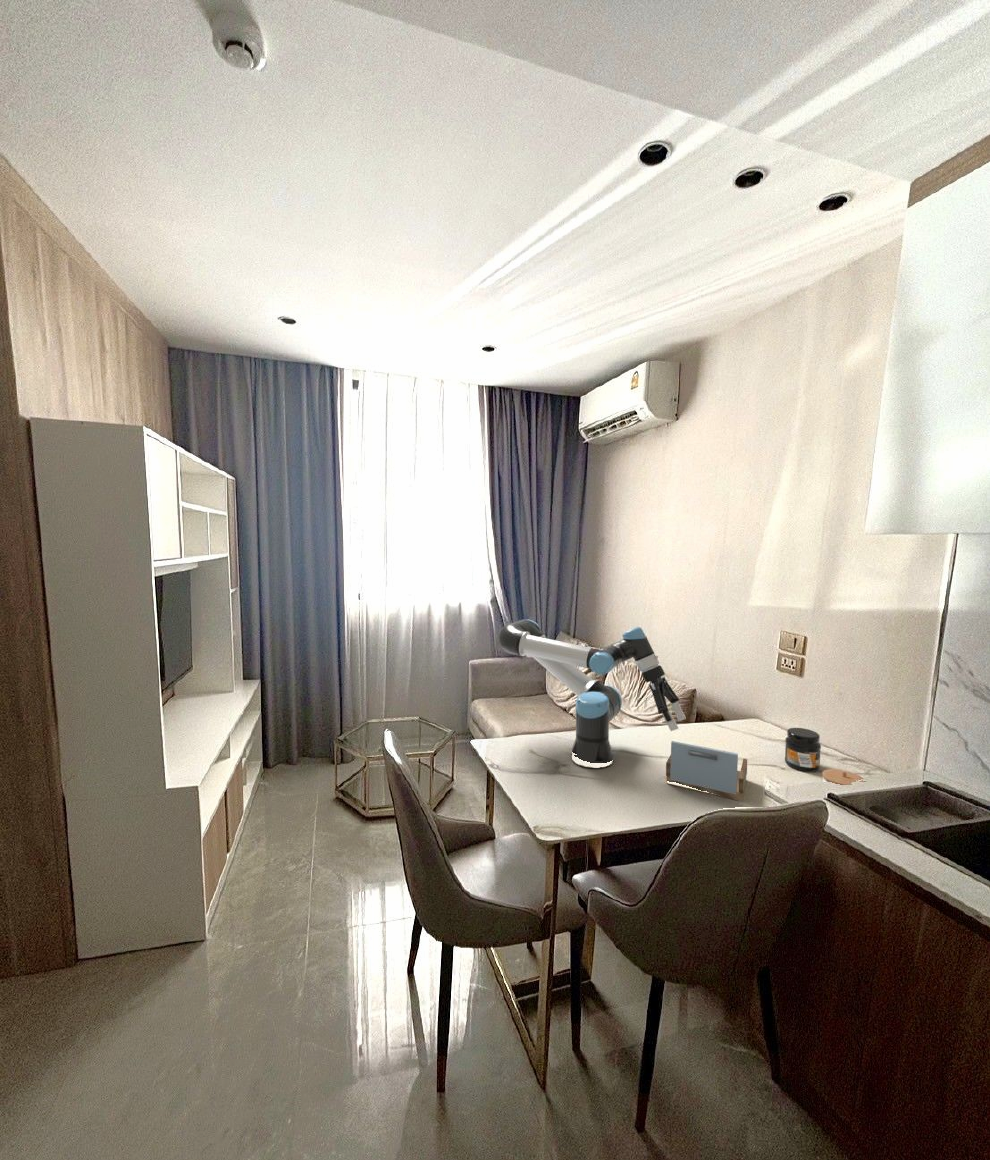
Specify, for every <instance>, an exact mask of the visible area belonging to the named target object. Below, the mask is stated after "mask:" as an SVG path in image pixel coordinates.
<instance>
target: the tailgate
mask: <svg viewBox="0 0 990 1160" xmlns="http://www.w3.org/2000/svg"><path fill="white" fill-rule="evenodd" d="M670 755H671V770H670V780H674V781H679V782H683V783H687V784H692V785H696V786H700V787H705V788H709V789H713V790H718V791H722V792H726V793H731V794H735V795H736V794H737V771H738V767H739V766H738V765H739V761H738V760H739V753H736V752H733V751H732V752H731V751H725V750H721V749H715V748H711V747H706V746H700V745H696V744H695V745H694V744H690V743H684V742H680V741H679V742H678V741H673V740H671V742H670Z"/></svg>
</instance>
